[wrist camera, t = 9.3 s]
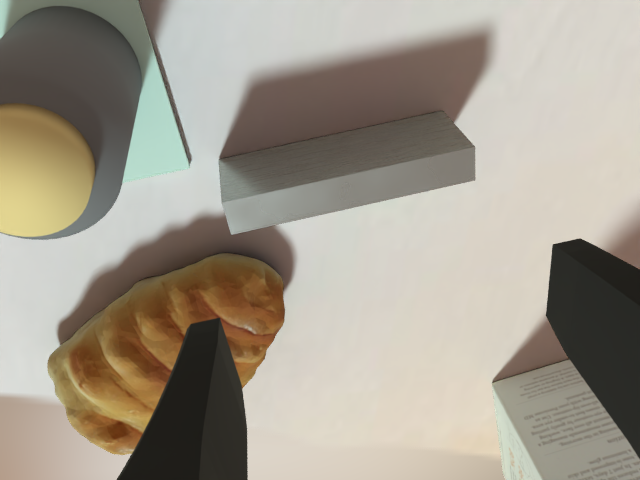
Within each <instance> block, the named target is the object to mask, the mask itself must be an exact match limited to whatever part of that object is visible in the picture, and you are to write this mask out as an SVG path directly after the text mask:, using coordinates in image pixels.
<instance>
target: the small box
mask: <svg viewBox="0 0 640 480" xmlns="http://www.w3.org/2000/svg"><path fill="white" fill-rule="evenodd" d="M492 389H493V397H494V404H495V412H496V420H497V428H498V436H499V445H500V452H501V460H502V470H503V474H504V476H505V479H506V480H640V459H639V457H638V456H637V454H636V453H635V451H634V450H633V448H632V447H631V445H630V443H629V442H628V440H627V439H626V438H625V436H624V435H623V433H622V432H621V431H620V429H619V428H618V426H617V425H616V424H615V422H614V421H613V420H612V418H611V417H610V415H609V414H608V413H607V411H606V410H605V408H604V407H603V406H602V404H601V403H600V401H599V400H598V399H597V397H596V396H595V395H594V393H593V392H592V390H591V389H590V388H589V386H588V385H587V383H586V382H585V381H584V379H583V378H582V376H581V375H580V373H579V372H578V371H577V369H576V368H575V366H574V365H573V363H572V362H571V361H570V359H569V360H565V361H562V362H559V363H556V364H552V365H549V366H546V367H542V368H539V369H536V370H532V371H529V372H526V373H522V374H519V375H516V376H512V377H509V378H506V379H503V380H500V381H497V382H494V383H493V384H492Z"/></svg>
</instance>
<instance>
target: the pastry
mask: <svg viewBox="0 0 640 480" xmlns="http://www.w3.org/2000/svg"><path fill="white" fill-rule="evenodd" d="M283 289H284V285H283V281H282V278H281V276H280V275H279V274H278V273H277V272H275V270H274V269H273V268H271V267H270V266H269V265H267V264H266V263H264V262H262V261H260V260H257V259H254V258H250V257H246V256H242V255H237V254H231V253H221V254H217V255H213V256H209V257H207V258H204V259H202V260H201V261H199V262H197V263H195V264H191V265H188V266H186V267H185V268H182V269H178V270H174V271H171V272H170V273H167V274H165V275H161V276H154V277H150V278H146V279H143V280H141V281H138V282H136V283H135V284H134V285H133V287H132V288H131V289H130V290H129V291H128V292H127V293H125V294H124V295H122V296H121V297H119V298H118V299H116V300H115V301H114V302H112V303H111V304H109V305H108V307H106V308H105V309H103V310H102V311H100V312H98V313H97V314H95V315H94V316H93V317H92V318H91V319H90V320H88V321H87V322H86V323H85V324H84V325H83V326H82V327H81V328H79V329H78V330H77V331H76V332H75V333H74V335H73V336H72V337H71V338H70V339H69V340H67V341H65V342H64V343H63V344H62V345H61V346H60V347H59V348H57V349H56V350H55V351H54V352H53V353H52V354H51V355H50V357H49V360H48V373H49V376H50V378H51V379H52V380H53V382H54V385H55V393H56V395H57V397H58V398H59V400H60V401H61V403H62V404H63V405H64V406H65V408H66V413H67V417H68V420H69V422H70V423H71V425H72V426H73V427H74V429H76V430H77V432H79V433H80V434H81V435H82V436H84V437H85V438H87V439H88V440H89V441H90V442H91V443H94V444H95V445H97V446H99V447H101V448H103V449H104V450H106V451H108V452H110V453H112V454H120V455H125V454H132V453H133V451H134V449H135V447H136V446H137V444H138V442H139V440H140V438H141V436H142V434H143V432H144V430H145V428H146V426H147V424H148V422H149V420H150V418H151V416H152V414H153V412H154V410H155V408H156V406H157V404H158V402H159V399H160V397H161V395H162V393H163V390H164V388H165V386H166V384H167V381H168V379H169V377H170V374H171V372H172V369H173V367H174V364H175V362H176V359H177V357H178V354H179V351H180V348H181V346H182V343H183V340H184V337H185V334H186V331H187V328H188V327H189V326H190V324H193V323H197V322H202V321H206V320H211V319H215V318H220V320H221V323H222V326H223V329H224V332H225V335H226V338H227V341H228V344H229V347H230V350H231V353H232V357H233V360H234V363H235V366H236V369H237V372H238V375H239V378H240V381H241V384H242V388H243V387H244V386H245V385H246V384H247V383H248V381H249V380H250V379H252V377H253V376H254V374H255V371H256V369H257V367H258V366H259V365H260V364H261V363H262V361H263V360H264V359H265V355H266V350H267V348H268V347H269V346H270V344H271V343H272V342H273V341H274V338H275V336H276V334H277V333H278V331H279V330H280V328H281V327H282V325H283V323H284V315H285V308H284V301H283V293H282V292H283Z"/></svg>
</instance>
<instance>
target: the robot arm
mask: <svg viewBox="0 0 640 480" xmlns="http://www.w3.org/2000/svg"><path fill="white" fill-rule="evenodd" d="M546 316H547V318H548V320H549V322H550V324H551V326H552V328H553V330H554V332H555V334H556V336H557V338H558V340H559V342H560V344H561V345H562V347H563V349H564V351H565V353H566V355H567V356H568V358H569V359H570V361H571V362H572V363H573V365H574V366H575V368H576V369H577V371H578V372H579V373H580V375H581V376H582V378H583V379H584V381H585V382H586V383H587V385H588V386H589V388H590V389H591V390H592V392H593V393H594V395H595V396H596V397H597V399H598V400H599V401H600V403H601V404H602V406H603V407H604V408H605V410H606V411H607V413H608V414H609V415H610V417H611V418H612V420H613V421H614V422H615V424H616V425H617V426H618V428H619V429H620V431H621V432H622V433H623V435H624V436H625V438H626V439H627V440H628V442H629V443H630V445H631V447H632V448H633V450H634V451H635V453H636V454H637V456H638V457H639V459H640V270H639V269H638V268H636V267H634V266H632V265H630V264H628V263H626V262H624V261H623V260H621V259H619V258H617V257H615V256H613V255H611V254H610V253H608V252H606V251H604V250H602V249H600V248H598V247H596V246H594V245H593V244H591V243H589V242H586V241H584V240H582V239H576V240H571V241H567V242H562V243H557V244H553V248H552V259H551V269H550V280H549V290H548V301H547V311H546ZM117 480H247V425H246V416H245V408H244V400H243V392H242V384H241V381H240V378H239V375H238V372H237V369H236V366H235V363H234V360H233V357H232V353H231V350H230V347H229V344H228V341H227V338H226V335H225V332H224V329H223V326H222V323H221V320H220V318H215V319H211V320H206V321H202V322H197V323H193V324H190V326H189V327H188V328H187V331H186V334H185V337H184V340H183V343H182V346H181V348H180V351H179V354H178V357H177V359H176V362H175V364H174V367H173V369H172V372H171V374H170V377H169V379H168V381H167V384H166V386H165V388H164V390H163V393H162V395H161V397H160V399H159V402H158V404H157V406H156V408H155V410H154V412H153V414H152V416H151V418H150V420H149V422H148V424H147V426H146V428H145V430H144V432H143V434H142V436H141V438H140V440H139V442H138V444H137V446H136V447H135V449H134V451H133V453H132V455H131V456H130V458H129V460H128V462H127V463H126V465H125V467H124V468H123V470H122V472H121V474H120V475H119V477H118V478H117Z"/></svg>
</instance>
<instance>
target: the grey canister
mask: <svg viewBox="0 0 640 480" xmlns="http://www.w3.org/2000/svg"><path fill="white" fill-rule="evenodd" d="M141 87H142V75H141V69H140V65H139V62H138V59H137V56H136V54H135V52H134V50H133V48H132V47H131V45H130V43H129V42H128V41H127V39H126V38H125V37H124V36H123V34H122V33H121V32H120V31H119V30H118V29H117V28H116V27H114V26H113V25H112V24H111V23H109V22H108V21H106V20H105V19H103V18H102V17H100V16H98V15H96V14H94V13H92V12H89V11H86V10H83V9H80V8H75V7H70V6H50V7H45V8H41V9H38V10H35V11H32V12H30V13H28V14H26V15H25V16H23V17H22V18H21V19H19V20H18V21H17V22H16V23H15V24H14V25H13V26H12V27H11V28H10V29H9V30H8V31H7V32H6V33H5V35H4V36H3V37H2V38H1V39H0V233H3V234H6V235H9V236H14V237H19V238H25V239H39V240H46V239H57V238H62V237H67V236H70V235H73V234H76V233H79V232H81V231H83V230H85V229H88V228H89V227H91V226H92V225H94V224H95V223H97V222H98V221H99V220H100V219H102V218H103V217H104V216H105V215H106V214H107V212H108V211H109V210H110V209H111V208H112V206H113V204H114V203H115V201H116V199H117V197H118V195H119V192H120V189H121V185H122V181H123V176H124V171H125V167H126V162H127V157H128V152H129V147H130V142H131V138H132V133H133V128H134V123H135V118H136V113H137V109H138V104H139V99H140V94H141Z"/></svg>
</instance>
